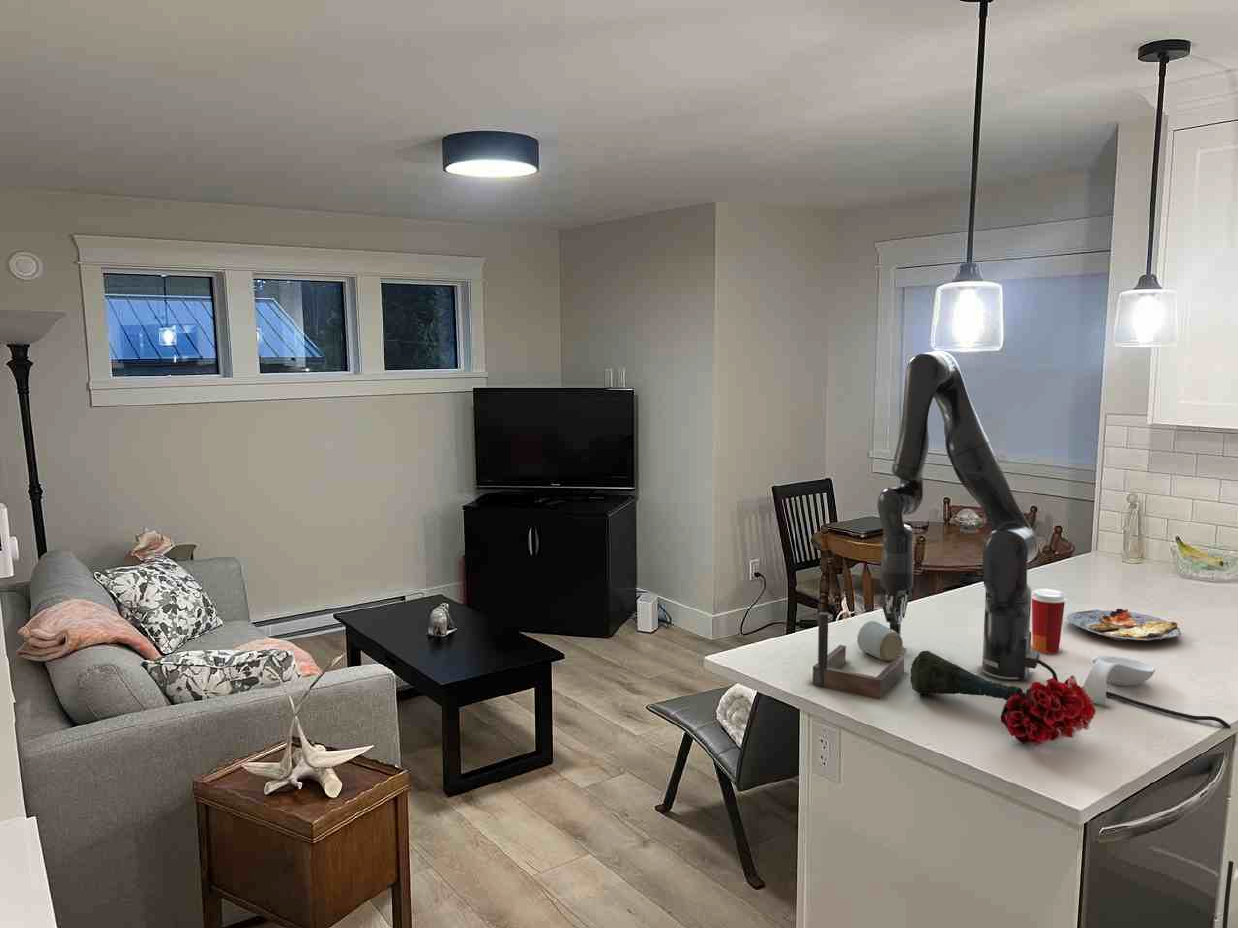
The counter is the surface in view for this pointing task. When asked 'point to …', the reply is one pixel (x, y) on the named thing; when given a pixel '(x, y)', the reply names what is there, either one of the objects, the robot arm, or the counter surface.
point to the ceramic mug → (880, 641)
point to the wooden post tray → (845, 680)
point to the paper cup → (1047, 620)
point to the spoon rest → (1115, 675)
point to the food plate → (1124, 625)
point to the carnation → (1012, 699)
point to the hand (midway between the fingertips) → (894, 637)
